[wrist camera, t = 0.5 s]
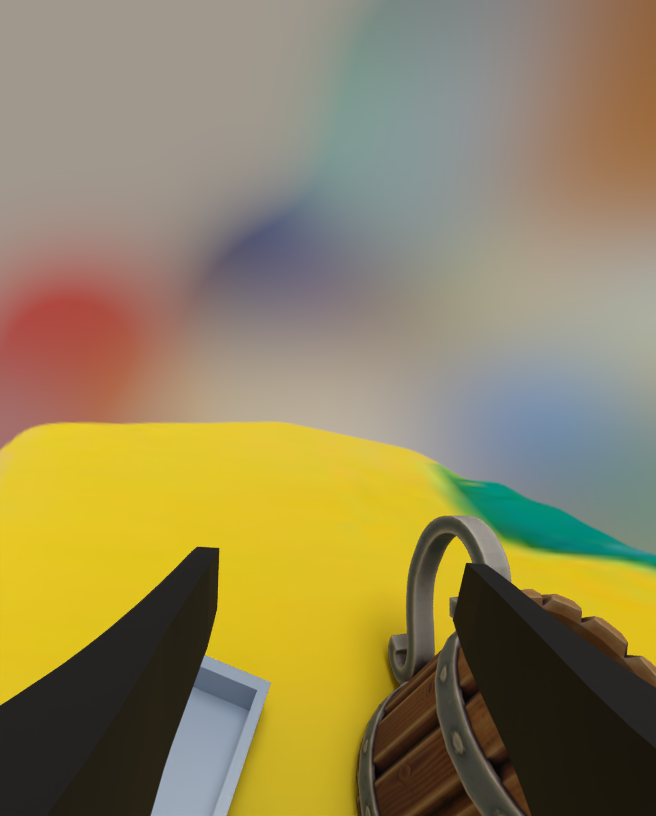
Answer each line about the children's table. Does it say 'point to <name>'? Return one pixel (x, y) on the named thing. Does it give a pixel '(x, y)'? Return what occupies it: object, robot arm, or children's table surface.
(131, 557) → the children's table surface
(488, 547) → the mug
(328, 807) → the children's table surface
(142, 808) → the robot arm
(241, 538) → the children's table surface
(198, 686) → the bin
